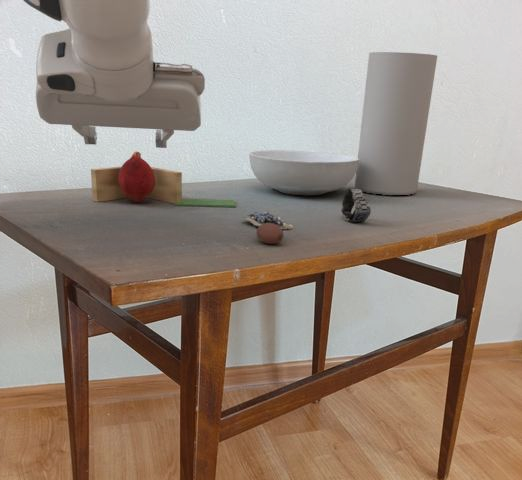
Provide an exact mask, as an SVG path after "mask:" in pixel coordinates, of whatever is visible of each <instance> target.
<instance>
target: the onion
mask: <svg viewBox="0 0 522 480" xmlns="http://www.w3.org/2000/svg"><path fill="white" fill-rule="evenodd" d="M141 156H142V153H141V152H139V151H138V150H136V151H134V152H133V153H132V155H131V156H130V158H129V159H127V160H126V161H124V163H123V164H122V165H121V166H120V167H121V169H120V172H119V177H118V181H119V186H120V188H121V190H122V191H123V192H124V194H125V195H126V196H128V197H129V198H128V199H130V200H132V201H133V202H134V203H137V204H138V203H139V204H140V203H142V202H143V200H145V199H146V197H147V196H148V195H149V194H150V193H151V192H152V190H153V188H154V187H155V176H154V172H153V170H152V168H151V167H152V166H151V165H150V164H149V163H148V162H147V161H146V160H145V159H144V158H142V157H141Z"/></svg>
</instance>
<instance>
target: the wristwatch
mask: <svg viewBox="0 0 522 480" xmlns="http://www.w3.org/2000/svg"><path fill="white" fill-rule="evenodd" d="M355 203H356V204H355ZM341 207H342V208H341V209H340V213H341V217H343V218H344V221H347V222H349V223H363V222H365V221H366V220H367V219H368V218H369V217H370V215H371V212H372V209H371V205H370V203H369V199H367V198H366V197H365V196H364V192H362V190H360V189H356V188H349V189H348V190H347V191H345V194H344V196H343V199H342V204H341ZM353 207H355V208H354V210H353ZM352 210H353V213H352Z"/></svg>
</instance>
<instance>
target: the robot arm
mask: <svg viewBox="0 0 522 480" xmlns="http://www.w3.org/2000/svg"><path fill="white" fill-rule="evenodd" d="M23 2H24V3H26V4H27V5H28V6H30V7H31V8H33V9H35V10H36V11H38V12H39V13H41V14H44V15H45V16H47V17H49V18H50V19H53V20H55V21H57V22H62V21H63V22H64V23H66V25H67V27H68V28H67V29H63V30H59V31H54V32H50V33H46V34H44V35H42V36H41V38H40V42H39V45H38V49H37V54H36V63H35V75H36V86H35V103H36V108H37V112H38V115H39V117H40V120H42V121H44V122H45V123H47V124H49V125H61V126H62V125H63V126H71V127H72V129H73V130H74V131H75V132H76V133H77V134H78V135H80V136H81V137H83V141H84V145H95V146H97V144H98V141H97V140H98V133H97V128H96V127H101V128H103V127H104V128H105V127H106V128H124V129H144V130H155V137H154V140H155V148H159V149H167V147H168V146H167V145H168V140H170V138H171V137H173V135H174V134H175V131H185V132H194V131H195V132H196V131H197V129H198V128H200V127H201V125H202V102H201V101H202V99H201V95H203V93H204V91H205V89H206V88H205V87H206V86H205V84H206V79H205V78H206V77H205V75H204V73H203V72H202V71H200V70H199V69H197V68H194V67H193V65H191V64H187V63H182V64H174V63H169V62H156V61H154V49H153V48H154V47H153V36H152V32H151V28H150V25H149V24H148V19H149V15H150V8H151V7H150V6H151V5H150V4H151V3H150V0H23Z"/></svg>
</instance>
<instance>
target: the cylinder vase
mask: <svg viewBox="0 0 522 480" xmlns="http://www.w3.org/2000/svg"><path fill="white" fill-rule="evenodd" d="M437 61H438V55H436V54H430V53H418V52H417V53H416V52H399V51H398V52H396V51H395V52H394V51H376V52H375V51H374V52H372V51H371V52H369V53H368V61H367V70H366V79H365V85H364V86H365V87H364V97H363V106H362V116H361V124H360V133H359V140H358V141H359V142H358V151H357V158H359V164H358V168H357V171H356V173H355V176H354V177H355V178H354V189H360V190H362V193H365V192H366V194H369V193H372V194H371V195H376V194H382V195H381V196H385V195H408V196H411V195H410V194H412V195H414V194H416V193H417V191H418V185H419V180H420V173H421V166H422V160H423V153H424V146H425V142H426V141H425V140H426V134H427V127H428V121H429V114H430V107H431V101H432V93H433V88H434V81H435V74H436V68H437Z"/></svg>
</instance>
